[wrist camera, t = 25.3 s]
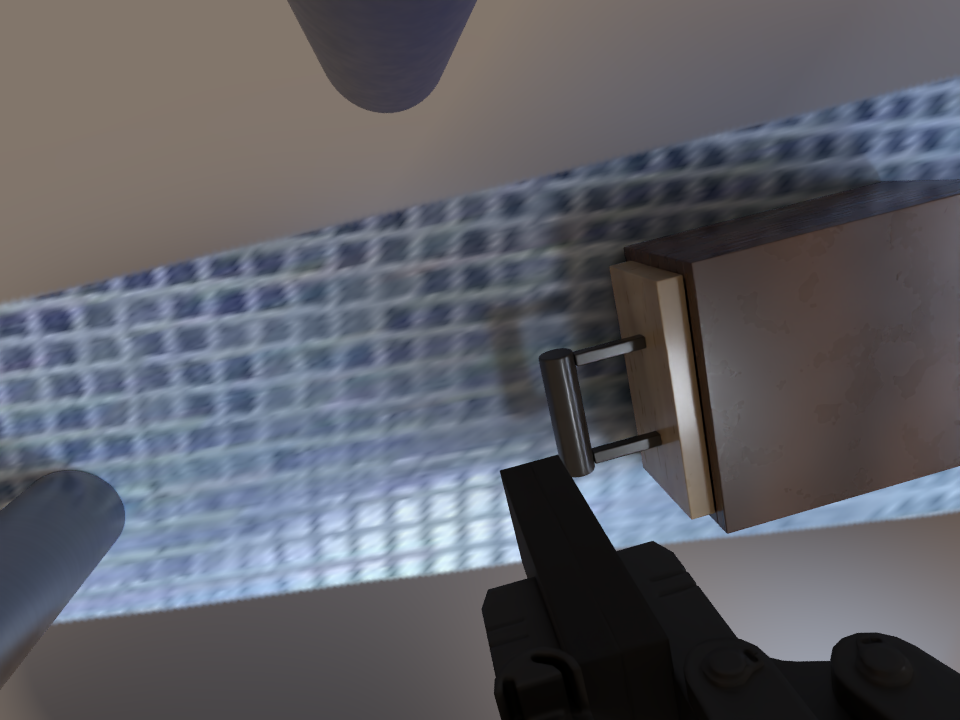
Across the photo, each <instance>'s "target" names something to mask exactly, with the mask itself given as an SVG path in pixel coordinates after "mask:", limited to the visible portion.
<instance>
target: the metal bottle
mask: <svg viewBox="0 0 960 720" xmlns="http://www.w3.org/2000/svg"><path fill="white" fill-rule="evenodd" d="M124 523H125V511H124V506H123V503H122V501H121V499H120V497H119V495H118V494H117V493H116V491H115V490H114V489H113V488H112V487H111V486H110V485H109V484H108V483H106V482H105V481H103V480H102V479H100V478H98V477H96V476H94V475H91V474H89V473H85V472H80V471H59V472H54V473H51V474H48V475H46V476H44V477H42V478H40V479H39V480H37V481H36V482H35V483H33V484H32V485H31V486H30V487H29V488H27V489H26V490H25V491H24V492H22V493H21V494H20V495H19V496H18V497H16V498H15V499H14V500H13V501H12V502H10V503H9V504H8V505H7V506H5V507H4V508H3V509H2V510H1V511H0V689H1V688H2V687H3V686H4V684H5V683H6V682H7V680H8V679H9V678H10V676H11V675H12V674H13V673H14V671H15V670H16V669H17V668H18V666H19V665H20V664H21V662H22V661H23V660H24V659H25V657H26V656H27V655H28V653H29V652H30V651H31V649H32V648H33V647H34V646H35V644H36V643H37V642H38V640H39V639H40V638H41V637H42V635H43V634H44V633H45V632H46V630H47V629H48V628H49V626H50V625H51V624H52V623H53V621H54V620H55V619H56V617H57V616H58V615H59V614H60V612H61V611H62V610H63V608H64V607H65V606H66V605H67V603H68V602H69V601H70V599H71V598H72V597H73V596H74V594H75V593H76V592H77V590H78V589H79V588H80V587H81V585H82V584H83V583H84V581H85V580H86V579H87V578H88V576H89V575H90V574H91V572H92V571H93V570H94V569H95V567H96V566H97V565H98V563H99V562H100V561H101V560H102V558H103V557H104V556H105V554H106V553H107V552H108V551H109V549H110V548H111V547H112V545H113V544H114V543H115V542H116V540H117V539H118V538H119V536H120V534H121V532H122V530H123V527H124Z"/></svg>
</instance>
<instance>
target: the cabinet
mask: <svg viewBox="0 0 960 720" xmlns="http://www.w3.org/2000/svg"><path fill="white" fill-rule="evenodd" d="M624 252H625V258H626V262H627V261H634V262H638V263H641V264H645V265H649V266H652V267H656V268H659V269H663V270H666V271H670V272H674V273H677V274H681V275H682V276H683V278H684V279H685V280H686V288H687V295H688V302H689V310H690V317H691V324H692V332H693V339H694V346H695V354H696V361H697V368H698V376H699V383H700V390H701V398H702V405H703V412H704V420H705V427H706V434H707V442H708V449H709V456H710V464H711V466H710V465H709V471H710V479H711V486H712V493H713V500H714V508H715V513H713V514H709V515H710V516H711V517H712V518H713V519H714V520H715V521H716V522H717V523H718V524H719V526H720V527H721V528H722V529H723V530H724V531H725V532H726V533H732V532H735V531H738V530H742V529H745V528H749V527H752V526H756V525H759V524H762V523H766V522H769V521H773V520H776V519H780V518H783V517H786V516H790V515H793V514H797V513H800V512H804V511H807V510H810V509H814V508H817V507H821V506H824V505H828V504H831V503H834V502H838V501H841V500H845V499H848V498H852V497H855V496H858V495H862V494H865V493H869V492H872V491H875V490H879V489H882V488H886V487H889V486H893V485H896V484H899V483H903V482H906V481H910V480H913V479H917V478H920V477H923V476H927V475H930V474H934V473H937V472H941V471H944V470H947V469H951V468H954V467H958V466H960V179H959V180H914V181H883V182H879V183H875V184H871V185H867V186H863V187H859V188H855V189H851V190H847V191H844V192H840V193H836V194H832V195H828V196H824V197H820V198H816V199H812V200H808V201H804V202H800V203H796V204H792V205H788V206H784V207H780V208H776V209H772V210H768V211H764V212H760V213H756V214H752V215H748V216H744V217H741V218H737V219H733V220H729V221H725V222H721V223H717V224H713V225H709V226H705V227H701V228H697V229H693V230H689V231H685V232H681V233H677V234H673V235H669V236H665V237H661V238H657V239H653V240H649V241H645V242H642V243H638V244H634V245H630V246H626V247H624Z"/></svg>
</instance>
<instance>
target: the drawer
mask: <svg viewBox="0 0 960 720" xmlns="http://www.w3.org/2000/svg"><path fill="white" fill-rule="evenodd" d="M609 268H610V274H611V280H612V286H613V292H614V298H615V304H616V310H617V316H618V321H619V327H620V333H621V339H619V340H616V341H612V342H608V343H604V344H600V345H597V346H593V347H589V348H585V349H582V350H578V351H574V352H573V351H572V350H571V349H566V348H560V349H554V350H550V351H547V352H545V353H543V354H541V355H540V356H539V364H540V369H541V374H542V378H543V383H544V388H545V392H546V397H547V402H548V407H549V411H550V416H551V421H552V426H553V430H554V435H555V440H556V445H557V449H558V454H559V457H560V459H561V460H562V462H563V464H564V465H565V467H566V469H567V470H568V472H569V474H570V475H571V477H582V476H585V475H588V474H590V473H591V472H592V471H593V470H594V468H595V463H600V462H604V461H608V460H611V459H615V458H618V457H622V456H625V455H629V454H633V453H636V452H640V451H641V457H642V463H643V468H644V469H645V470H646V471H647V472H648V473H649V474H650V475H651V476H652V477H653V479H654V480H655V481H656V482H657V483H658V484H659V485H660V486H661V487H662V488H663V489H664V490H665V491H666V492H667V494H668V495H669V496H670V497H671V498H672V499H673V500H674V501H675V502H676V503H677V504H678V505H679V506H680V508H681V509H682V510H683V511H684V512H685V513H686V514H687V515H688V516H689V517H690V518H691V519H695V518H699V517H702V516H706V515H709V514H713V513H715V508H714V500H713V493H712V486H711V479H710V471H709V465H710V466H711V464H710V456H709V449H708V442H707V434H706V427H705V420H704V412H703V405H702V398H701V390H700V383H699V376H698V368H697V361H696V354H695V346H694V339H693V332H692V324H691V317H690V310H689V302H688V295H687V288H686V280H685V279H684V278H683V276H682V275H681V274H677V273H674V272H670V271H666V270H663V269H659V268H656V267H652V266H649V265H645V264H641V263H638V262H634V261H627V262H623V263H619V264H615V265H611V266H609ZM623 354H624V357H625V363H626V368H627V374H628V380H629V386H630V392H631V398H632V404H633V410H634V415H635V421H636V427H637V433H638V436H634V437H631V438H627V439H623V440H620V441H616V442H613V443H609V444H605V445H602V446H598V447H594V448H591V443H590V437H589V432H588V427H587V422H586V417H585V412H584V407H583V401H582V396H581V391H580V386H579V381H578V376H577V370H576V366H581V365H585V364H589V363H593V362H596V361H600V360H604V359H608V358H612V357H615V356H619V355H623ZM594 462H595V463H594Z"/></svg>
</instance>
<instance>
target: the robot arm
mask: <svg viewBox="0 0 960 720" xmlns="http://www.w3.org/2000/svg"><path fill="white" fill-rule="evenodd" d="M500 474H501V478H502V482H503V486H504V490H505V494H506V498H507V502H508V506H509V510H510V514H511V518H512V523H513V527H514V531H515V535H516V539H517V543H518V547H519V551H520V555H521V559H522V563H523V566H524V569H525V572H526V575H527V579H524V580H521V581H517V582H514V583H511V584H507V585H503V586H499V587H496V588H492V589H489V590H488V591H487V594H486V597H485V600H484V604H483V607H482V614H483V618H484V623H485V628H486V633H487V638H488V642H489V646H490V652H491V657H492V661H493V666H494V671H495V676H496V678H495V684H494V685H495V686H494V695H495V699H496V703H497V706H498V710H499V713H500V717H501V720H960V674H959V673H958V672H956V671H955V670H953V669H951V668H950V667H948V666H947V665H945V664H943V663H942V662H940V661H939V660H937V659H936V658H934V657H932V656H931V655H929V654H927V653H926V652H924V651H923V650H921V649H920V648H918V647H916V646H915V645H912V644H910V643H908V642H906V641H904V640H902V639H900V638H898V637H894V636H890V635H885V634H881V633H856V634H853V635H850V636H847V637H844V638H842V639H841V640H840V641H839V642H838V643H837V644H836V645H835V646H834V647H833V649H832V655H831V659H830V661H809V662H808V661H805V662H804V661H803V662H795V661H782V660H778V659H774V658H769V657H768V656H767V655H766V654H765V653H764V652H763V651H762V650H761V649H759V648H758V647H757V646H755V645H753V644H751V643H749V642H746V641H744V640H742V639H738V638H737V637H736V635H735V634H734V633H733V631H732V630H731V629H730V627H729V626H728V625H727V623H726V622H725V621H724V620H723V618H722V617H721V616H720V614H719V613H718V612H717V610H716V609H715V607H714V606H713V605H712V604H711V602H710V601H709V599H708V598H707V597H706V596H705V594H704V593H703V592H702V590H701V589H700V588H699V586H697V585H696V582H695V581H694V580H693V578H692V577H691V576H690V574H689V573H688V572H686V569H685V568H684V566H683V565H682V564H681V562H680V561H679V560H678V558H677V557H676V556H675V554H674V553H673V552H672V551H670V550H668V549H666V548H665V547H663V546H661V545H659V544H657V543H656V542H654V541H651V542H647V543H644V544H640V545H637V546H633V547H630V548H626V549H623V550H619V551H616V550H615V549H614V547H613V545H612V544H611V542H610V540H609V539H608V537H607V535H606V534H605V532H604V530H603V529H602V527H601V525H600V524H599V522H598V520H597V519H596V517H595V515H594V514H593V512H592V510H591V509H590V507H589V505H588V504H587V502H586V500H585V499H584V497H583V495H582V494H581V492H580V490H579V489H578V487H577V485H576V484H575V482H574V480H573V479H572V477H571V475H570V474H569V472H568V470H567V469H566V467H565V465H564V464H563V462H562V460H561V459H560V457H559V455H555V456H551V457H548V458H544V459H540V460H537V461H533V462H529V463H526V464H522V465H518V466H515V467H511V468H507V469H504V470H500Z"/></svg>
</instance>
